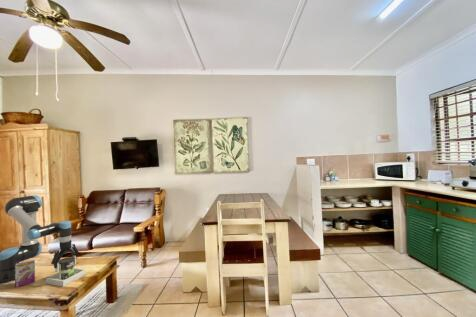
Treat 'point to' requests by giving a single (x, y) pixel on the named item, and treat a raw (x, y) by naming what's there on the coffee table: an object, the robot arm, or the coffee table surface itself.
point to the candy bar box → (24, 273)
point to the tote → (55, 279)
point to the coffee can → (66, 268)
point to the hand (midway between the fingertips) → (65, 267)
